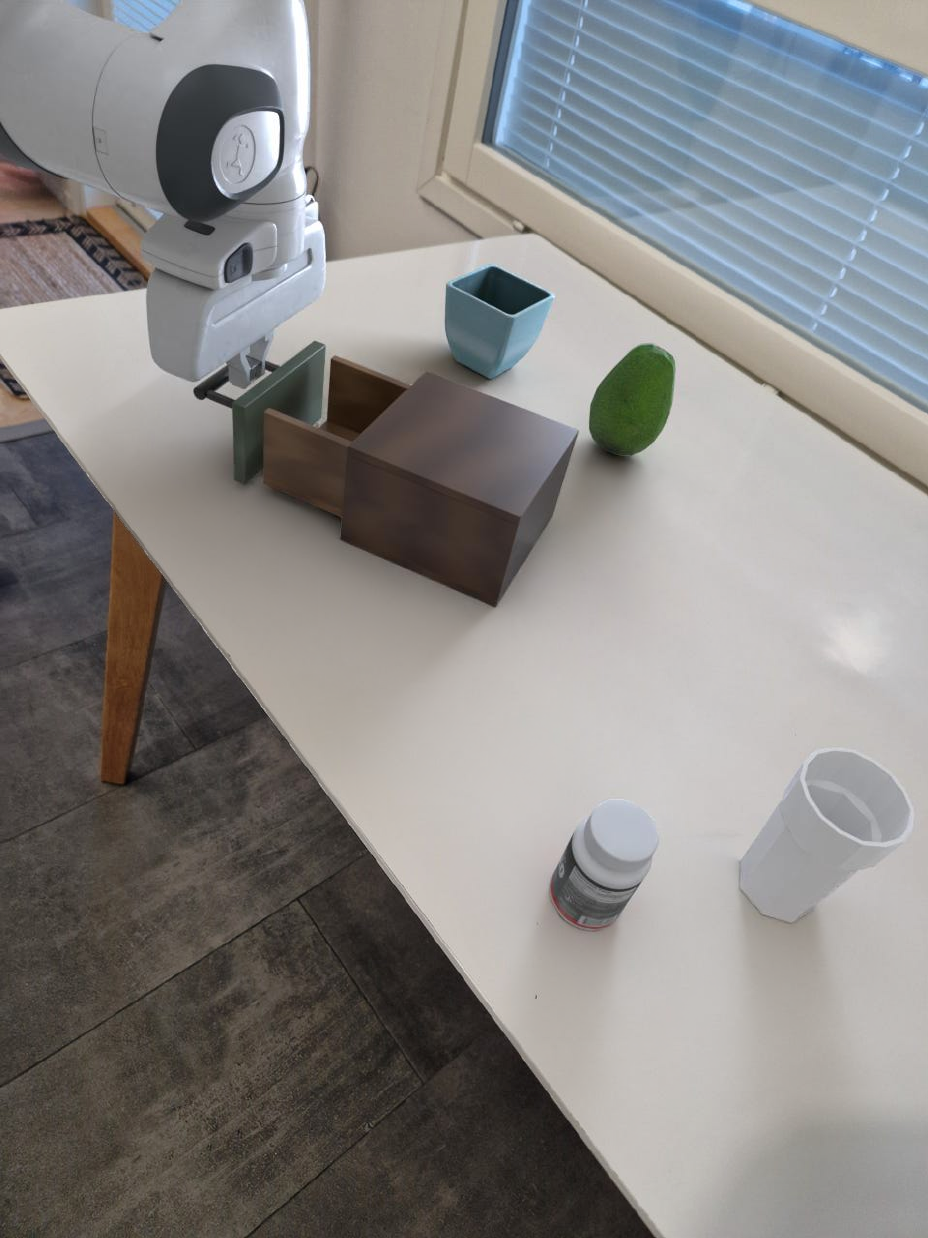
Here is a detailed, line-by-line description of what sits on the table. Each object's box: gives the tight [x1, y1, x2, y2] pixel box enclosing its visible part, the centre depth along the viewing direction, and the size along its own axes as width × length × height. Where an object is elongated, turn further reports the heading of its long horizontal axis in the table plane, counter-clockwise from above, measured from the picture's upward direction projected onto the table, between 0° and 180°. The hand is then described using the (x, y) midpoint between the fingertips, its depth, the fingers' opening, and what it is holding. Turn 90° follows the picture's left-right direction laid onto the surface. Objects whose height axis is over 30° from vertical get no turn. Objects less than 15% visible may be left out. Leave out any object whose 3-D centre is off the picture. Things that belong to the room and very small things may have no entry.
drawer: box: [192, 340, 412, 518], centre depth 76 cm, size 19×13×8 cm
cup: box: [739, 746, 916, 924], centre depth 53 cm, size 7×7×11 cm
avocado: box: [588, 342, 676, 457], centre depth 86 cm, size 8×8×12 cm
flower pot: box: [444, 263, 556, 380], centre depth 95 cm, size 9×9×9 cm
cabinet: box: [339, 370, 580, 608], centre depth 74 cm, size 15×14×10 cm
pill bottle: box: [549, 798, 660, 931], centre depth 51 cm, size 5×5×8 cm
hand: (247, 380), depth 76 cm, fingers closed
